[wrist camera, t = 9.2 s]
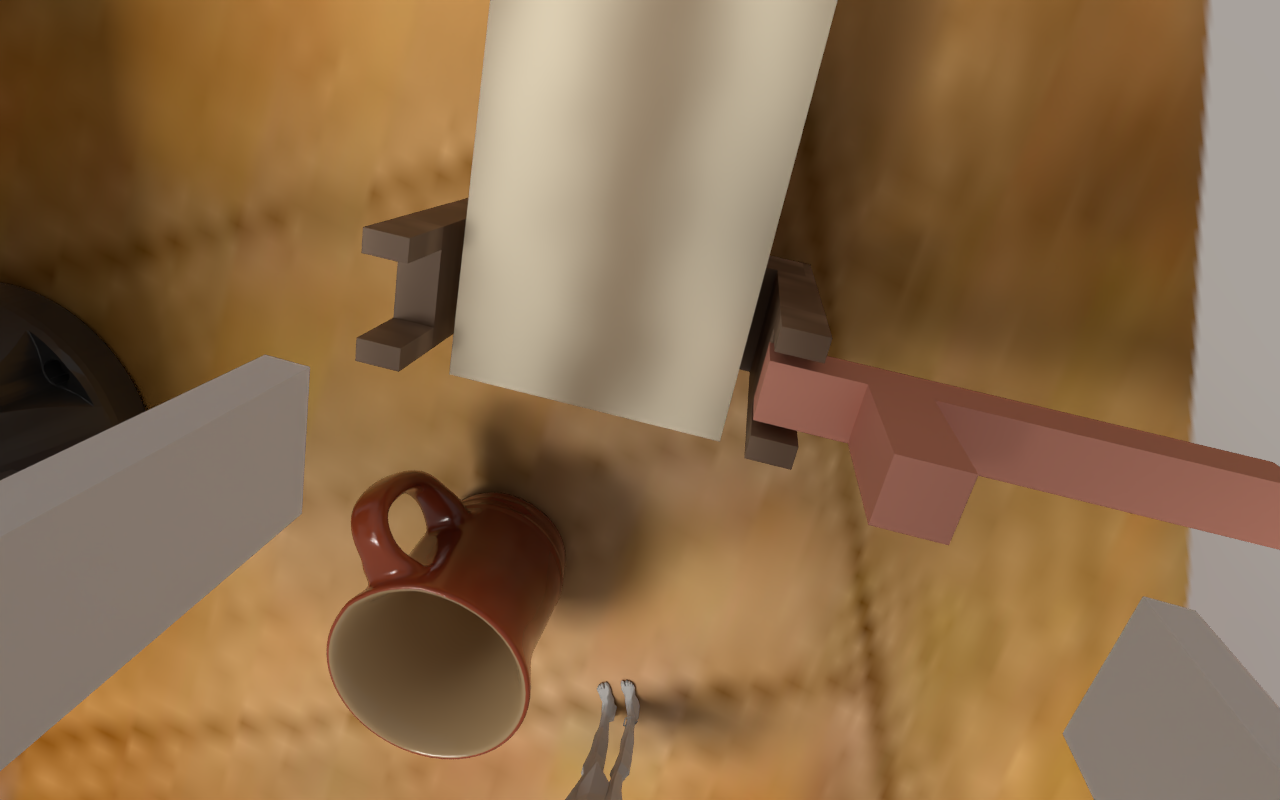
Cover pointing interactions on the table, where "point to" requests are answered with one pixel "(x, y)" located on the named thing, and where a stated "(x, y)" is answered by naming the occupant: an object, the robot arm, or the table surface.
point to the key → (1006, 453)
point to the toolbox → (431, 296)
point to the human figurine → (593, 790)
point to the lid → (630, 197)
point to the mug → (445, 618)
